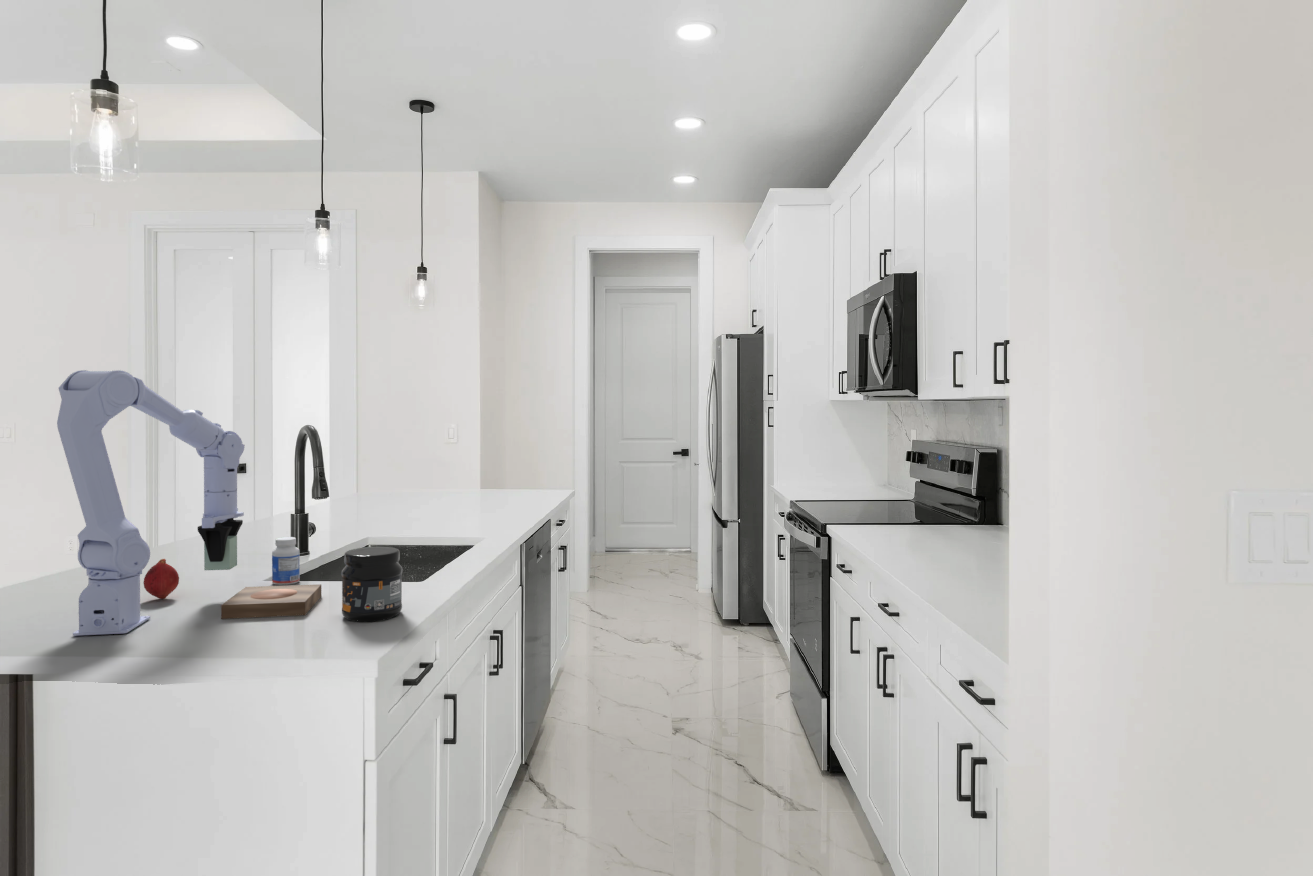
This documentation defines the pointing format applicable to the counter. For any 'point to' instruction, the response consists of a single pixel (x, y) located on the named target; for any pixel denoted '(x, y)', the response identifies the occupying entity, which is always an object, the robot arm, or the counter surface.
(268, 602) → the walnut base
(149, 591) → the onion
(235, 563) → the sage block
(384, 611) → the supplement container
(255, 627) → the counter surface
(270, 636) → the counter surface
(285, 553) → the pill bottle
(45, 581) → the counter surface
